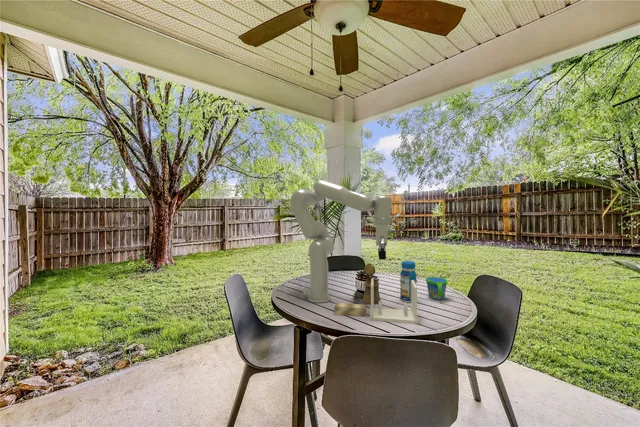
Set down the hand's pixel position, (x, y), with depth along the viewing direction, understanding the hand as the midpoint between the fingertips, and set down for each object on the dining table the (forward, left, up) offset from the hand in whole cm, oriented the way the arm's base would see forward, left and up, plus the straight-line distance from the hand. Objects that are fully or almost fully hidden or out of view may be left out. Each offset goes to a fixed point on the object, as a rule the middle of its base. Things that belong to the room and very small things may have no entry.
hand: (381, 257), depth 135 cm
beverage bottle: (+14, +15, -25) cm, 32 cm away
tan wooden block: (-14, -9, -25) cm, 30 cm away
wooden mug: (-5, +12, -25) cm, 28 cm away
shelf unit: (+5, -9, -25) cm, 27 cm away
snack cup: (+29, +21, -25) cm, 43 cm away
